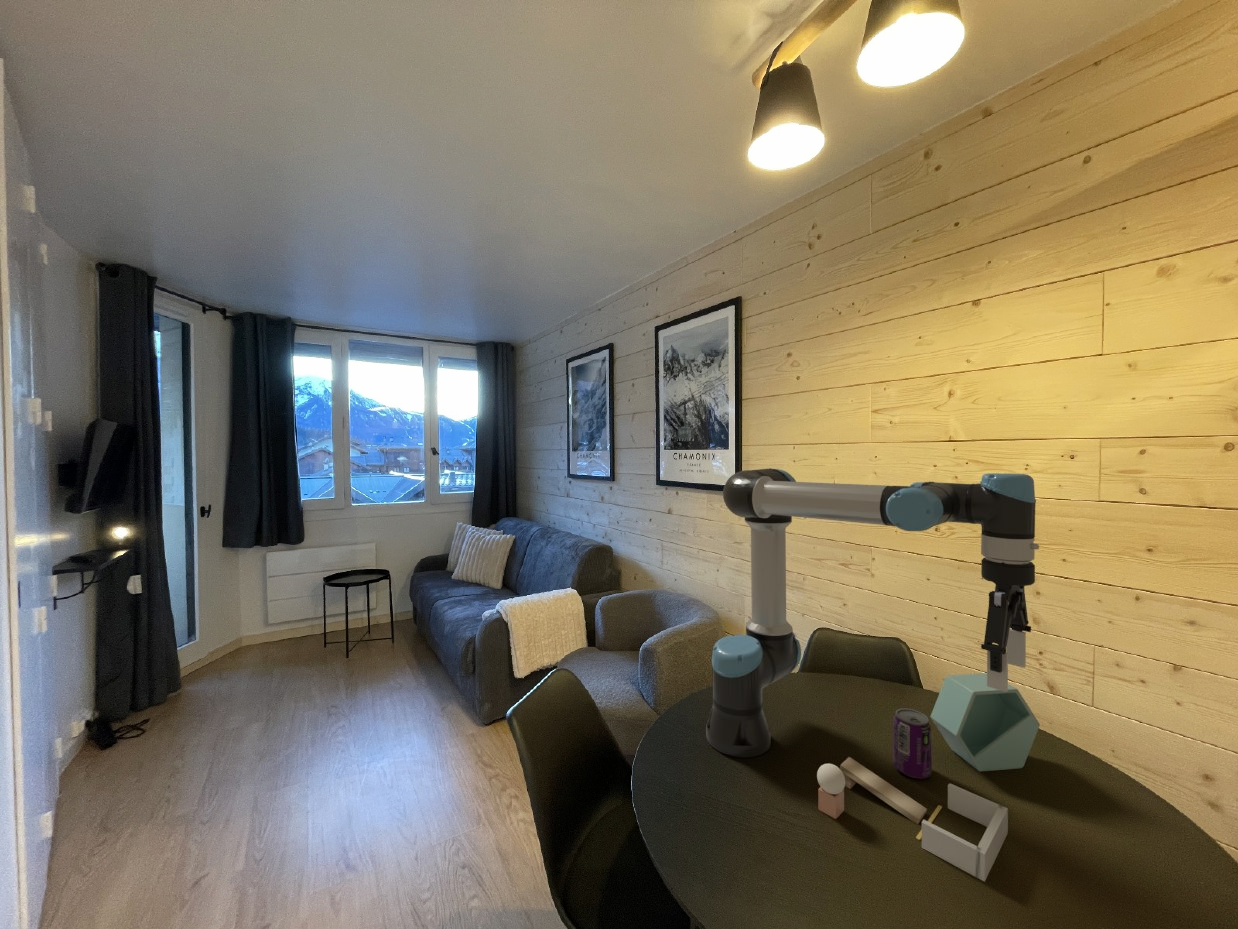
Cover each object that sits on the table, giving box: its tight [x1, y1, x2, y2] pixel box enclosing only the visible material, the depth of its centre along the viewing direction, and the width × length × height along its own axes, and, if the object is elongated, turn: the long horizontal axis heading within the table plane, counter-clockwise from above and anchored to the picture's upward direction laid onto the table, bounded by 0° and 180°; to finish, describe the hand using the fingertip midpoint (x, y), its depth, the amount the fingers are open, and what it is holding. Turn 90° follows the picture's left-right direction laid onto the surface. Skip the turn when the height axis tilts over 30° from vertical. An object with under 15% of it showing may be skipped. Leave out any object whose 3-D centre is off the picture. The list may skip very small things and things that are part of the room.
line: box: [915, 804, 943, 841], centre depth 90 cm, size 1×12×1 cm, turn 130°
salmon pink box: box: [817, 786, 845, 820], centre depth 94 cm, size 3×3×4 cm
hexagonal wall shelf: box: [929, 672, 1041, 772], centre depth 108 cm, size 17×8×21 cm
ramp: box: [839, 756, 928, 825], centre depth 97 cm, size 15×4×4 cm, turn 40°
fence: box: [921, 783, 1009, 882], centre depth 86 cm, size 9×15×4 cm, turn 130°
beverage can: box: [892, 708, 933, 779], centre depth 105 cm, size 7×7×12 cm
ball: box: [816, 763, 845, 794], centre depth 94 cm, size 5×5×5 cm
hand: (1007, 676), depth 88 cm, fingers open, 13 cm apart
